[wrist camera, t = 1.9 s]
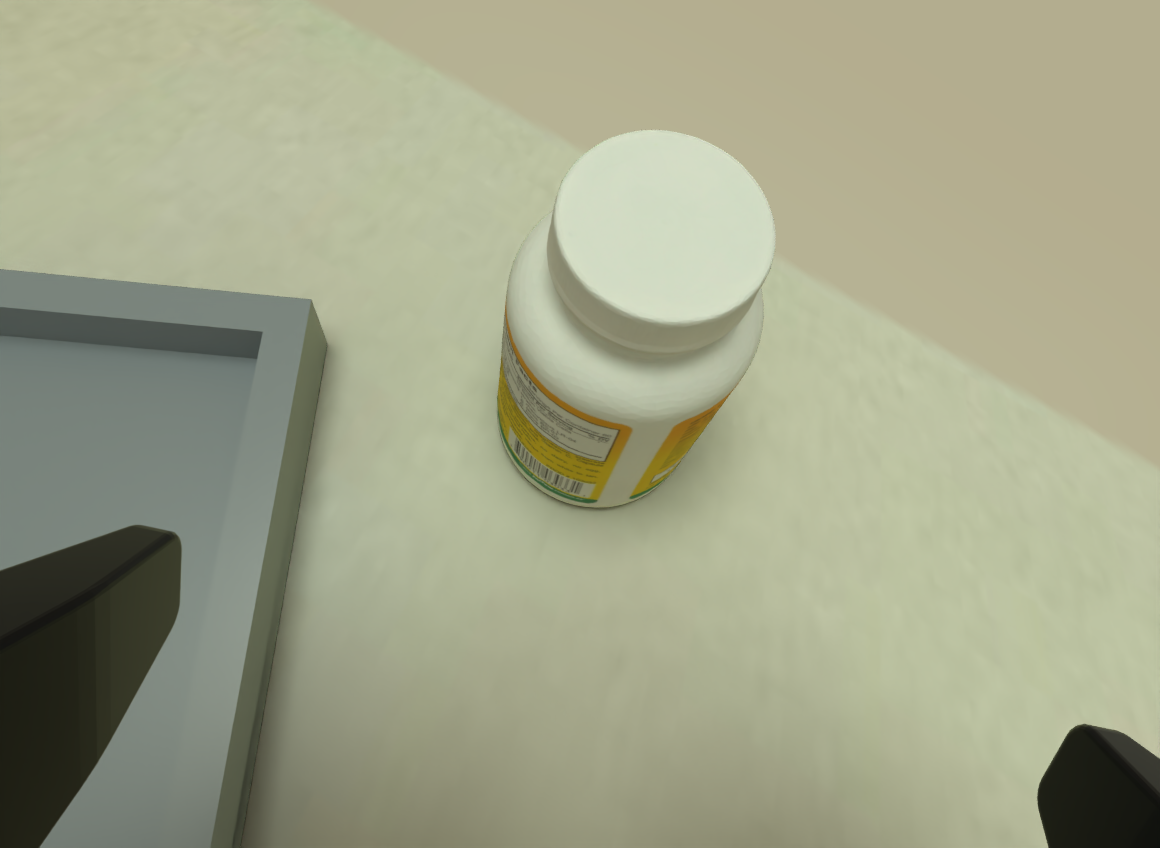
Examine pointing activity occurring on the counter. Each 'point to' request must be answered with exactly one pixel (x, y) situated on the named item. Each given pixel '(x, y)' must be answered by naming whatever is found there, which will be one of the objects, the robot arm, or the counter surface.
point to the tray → (165, 515)
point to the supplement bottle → (631, 315)
